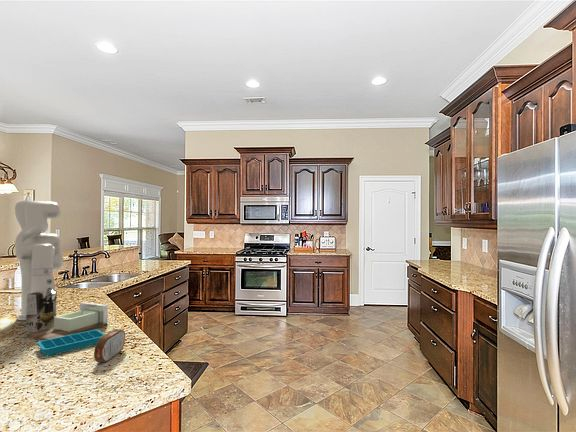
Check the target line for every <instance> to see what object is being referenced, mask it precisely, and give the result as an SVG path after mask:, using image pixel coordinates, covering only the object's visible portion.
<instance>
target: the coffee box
mask: <svg viewBox="0 0 576 432" xmlns="http://www.w3.org/2000/svg"><path fill="white" fill-rule="evenodd" d="M57 291H58V290H56V289H55V293H56V296H55V300H54V303H53V312H50V313H45V304H46V302H45V300H44V299H42V294H40V293H30V294H27V311H26V320H25V323H26V324H25V332H29V333H34V332H38V331H42V330H45V329H49V328H53V327H54V317H56V316H57V294H58V293H57ZM46 297H47V296H46ZM48 300H49V299H48Z"/></svg>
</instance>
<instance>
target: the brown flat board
mask: <svg viewBox="0 0 576 432" xmlns="http://www.w3.org/2000/svg"><path fill="white" fill-rule="evenodd" d="M105 326H108V322H107V323H105V324H100V323H97V324H93V325H90V326H86V327H83V328H80V329H76V330H73V331H70V332H68V331H63V330H58V329H54V327H52V328H49V329H45V330H42V331H38V332H30V333H28V334H26V338H29V339H35V340H37V341H43V340H48V339H53V338H57V337H62V336H67V335H72V334H77V333H81V332H86V331H91V330H97V329H100V328H102V327H105Z"/></svg>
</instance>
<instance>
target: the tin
mask: <svg viewBox="0 0 576 432" xmlns="http://www.w3.org/2000/svg"><path fill="white" fill-rule="evenodd" d="M104 334H105V335H103V336H102V337H101V338H100V339H99V340H98V342H97V344H96V345H94V350H93V358H94V361H95V362H97V363H108V362H109V361H110V360H112V358H114V357H116V356H117V355H119V354H120V353H121V352H122V350H123V348H124V346H125V343H126V333H125V331H124V330H123V329H117V328H114V329H113V330H111V331H109V332H107V333H104Z"/></svg>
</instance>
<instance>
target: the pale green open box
mask: <svg viewBox="0 0 576 432" xmlns="http://www.w3.org/2000/svg"><path fill="white" fill-rule="evenodd" d="M97 323H98V312H96V311H89V310H80V309H79V310H77V311H72V312H69V313H64V314H61V315H58V316H57V315H56V317H54V329H58V330H63V331H68V332H70V331H73V330H76V329H80V328H83V327H86V326H90V325H93V324H97Z"/></svg>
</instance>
